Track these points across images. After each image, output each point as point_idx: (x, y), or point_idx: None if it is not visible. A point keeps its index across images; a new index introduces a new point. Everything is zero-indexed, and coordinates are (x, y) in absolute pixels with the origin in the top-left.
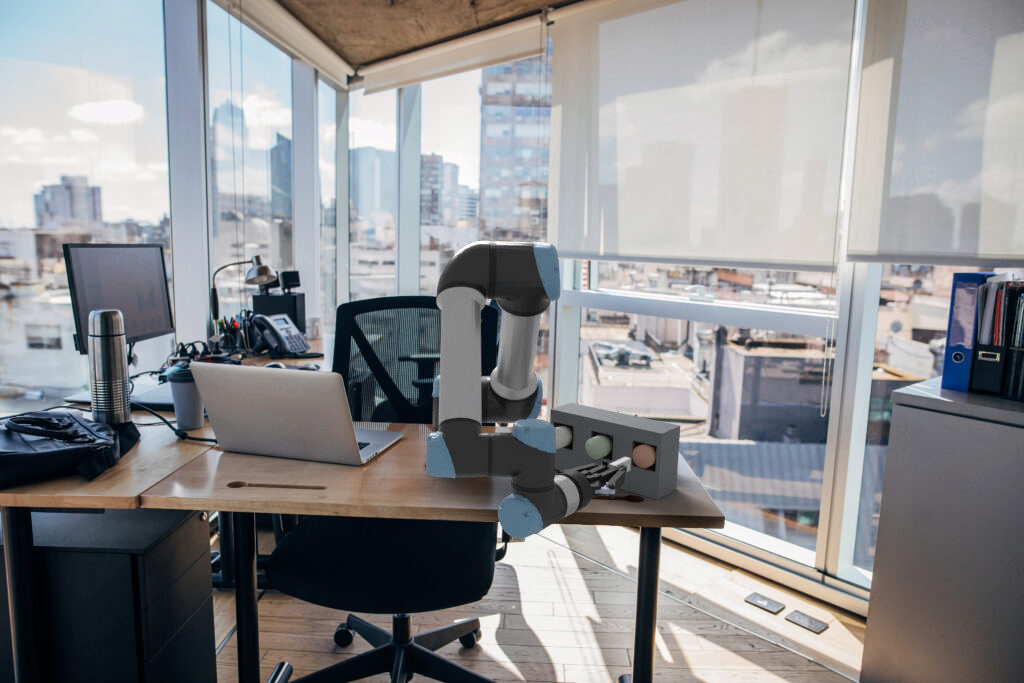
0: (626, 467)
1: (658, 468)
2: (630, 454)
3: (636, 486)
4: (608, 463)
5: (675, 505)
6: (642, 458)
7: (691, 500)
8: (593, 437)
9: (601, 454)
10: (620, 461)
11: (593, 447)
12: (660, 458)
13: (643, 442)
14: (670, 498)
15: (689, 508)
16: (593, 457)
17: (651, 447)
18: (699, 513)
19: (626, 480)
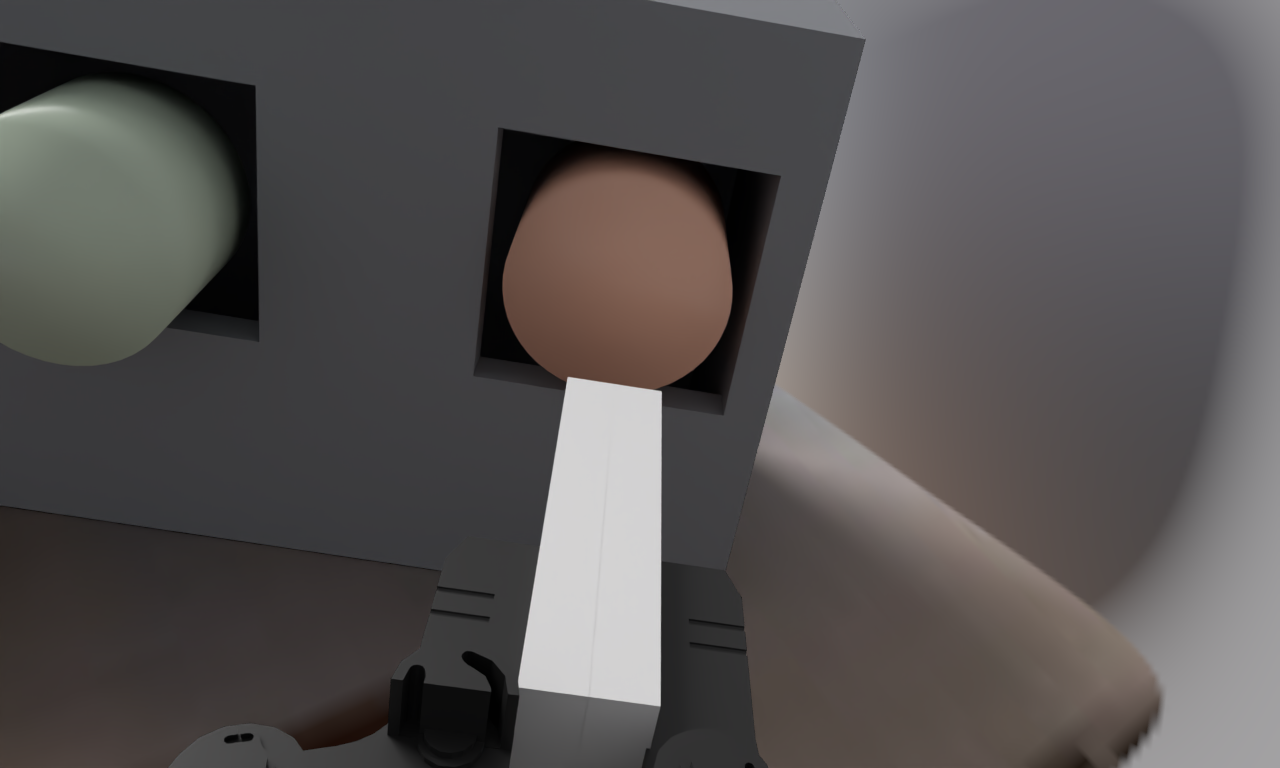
0: (737, 604)
1: (762, 381)
2: (468, 272)
3: (519, 532)
4: (220, 366)
5: (871, 641)
6: (616, 308)
7: (887, 532)
8: (7, 119)
9: (150, 312)
10: (616, 516)
11: (30, 240)
12: (798, 293)
13: (627, 144)
14: (767, 557)
15: (973, 642)
16: (49, 348)
17: (694, 189)
18: (1081, 684)
19: (420, 494)
